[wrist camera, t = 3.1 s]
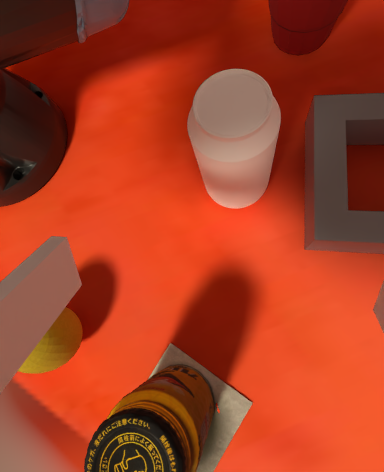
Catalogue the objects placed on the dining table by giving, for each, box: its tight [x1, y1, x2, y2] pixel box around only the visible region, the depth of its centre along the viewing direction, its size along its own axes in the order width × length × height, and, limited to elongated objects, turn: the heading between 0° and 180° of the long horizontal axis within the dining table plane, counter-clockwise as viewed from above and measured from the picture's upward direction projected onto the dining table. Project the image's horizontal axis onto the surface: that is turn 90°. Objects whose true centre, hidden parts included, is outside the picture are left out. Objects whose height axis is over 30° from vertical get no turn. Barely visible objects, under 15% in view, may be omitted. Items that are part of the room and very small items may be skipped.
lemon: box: [18, 307, 83, 373], centre depth 25 cm, size 6×6×8 cm
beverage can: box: [187, 69, 281, 208], centre depth 24 cm, size 6×6×12 cm
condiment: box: [84, 343, 252, 472], centre depth 20 cm, size 7×8×12 cm
